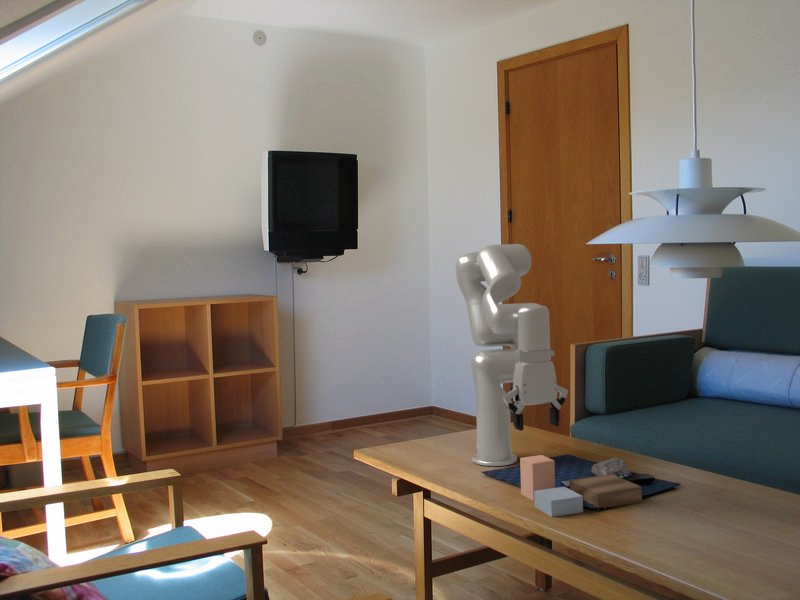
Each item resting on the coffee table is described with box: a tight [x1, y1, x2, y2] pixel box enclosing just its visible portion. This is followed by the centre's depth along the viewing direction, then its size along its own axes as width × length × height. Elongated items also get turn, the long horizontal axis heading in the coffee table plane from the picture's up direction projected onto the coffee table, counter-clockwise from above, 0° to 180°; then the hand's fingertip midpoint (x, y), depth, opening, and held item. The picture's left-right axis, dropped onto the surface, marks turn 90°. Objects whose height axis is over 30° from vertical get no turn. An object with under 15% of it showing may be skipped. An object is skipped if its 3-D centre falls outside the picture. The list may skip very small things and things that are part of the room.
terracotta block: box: [519, 454, 556, 502], centre depth 196 cm, size 6×6×9 cm
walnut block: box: [568, 474, 643, 510], centre depth 192 cm, size 12×12×4 cm
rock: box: [590, 457, 632, 476], centre depth 211 cm, size 9×11×4 cm
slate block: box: [534, 486, 584, 518], centre depth 185 cm, size 8×8×4 cm
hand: (536, 427), depth 195 cm, fingers open, 9 cm apart
